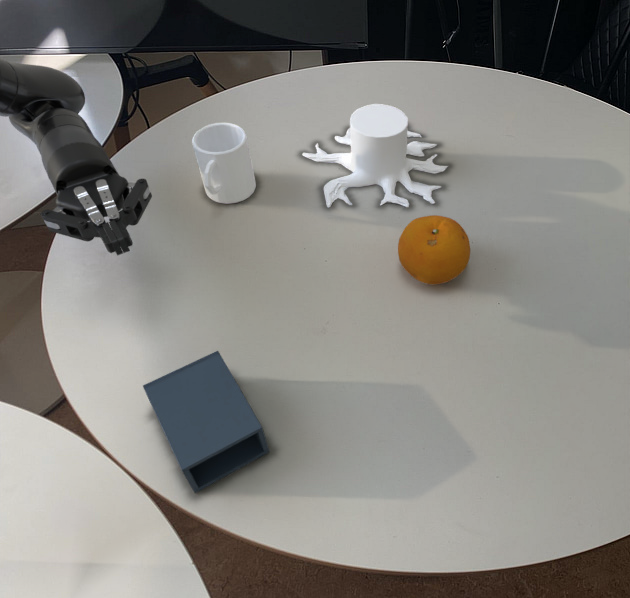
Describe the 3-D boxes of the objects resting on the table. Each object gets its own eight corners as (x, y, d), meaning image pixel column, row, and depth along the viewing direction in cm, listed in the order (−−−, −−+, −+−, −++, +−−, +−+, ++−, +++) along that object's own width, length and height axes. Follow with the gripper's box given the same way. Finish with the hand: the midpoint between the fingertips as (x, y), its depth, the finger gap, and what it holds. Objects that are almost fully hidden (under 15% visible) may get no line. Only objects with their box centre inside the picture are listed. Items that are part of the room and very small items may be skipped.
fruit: (387, 284, 86) (388, 244, 80) (409, 236, 93) (411, 196, 87) (457, 302, 85) (463, 264, 79) (474, 252, 91) (481, 213, 85)
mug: (190, 217, 94) (174, 166, 86) (214, 170, 102) (202, 119, 94) (241, 223, 94) (229, 172, 86) (261, 175, 101) (252, 124, 94)
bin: (142, 385, 67) (181, 470, 61) (217, 350, 71) (262, 427, 65) (157, 411, 72) (195, 493, 66) (227, 377, 76) (269, 451, 69)
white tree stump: (459, 204, 98) (466, 157, 91) (306, 214, 95) (300, 166, 88) (435, 123, 113) (439, 77, 105) (301, 130, 110) (296, 83, 102)
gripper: (10, 159, 72) (46, 246, 63) (121, 126, 77) (170, 202, 68) (36, 207, 77) (73, 293, 68) (139, 174, 82) (185, 249, 73)
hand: (121, 247), depth 68 cm, fingers closed
